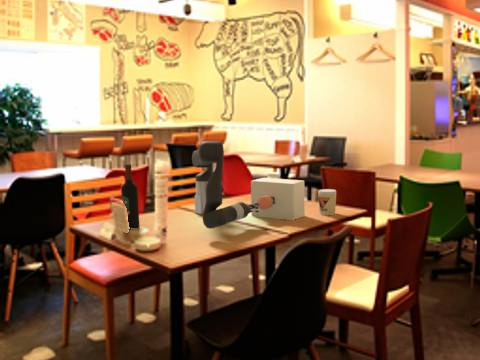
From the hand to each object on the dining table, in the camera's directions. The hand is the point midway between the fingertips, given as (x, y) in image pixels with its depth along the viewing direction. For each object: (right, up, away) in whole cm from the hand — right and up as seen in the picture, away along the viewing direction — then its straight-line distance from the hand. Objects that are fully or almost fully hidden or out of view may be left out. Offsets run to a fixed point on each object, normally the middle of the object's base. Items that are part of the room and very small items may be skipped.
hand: (256, 205), depth 264 cm
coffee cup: (+37, -6, +20) cm, 42 cm away
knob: (+6, -2, +9) cm, 11 cm away
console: (+11, -6, +18) cm, 22 cm away
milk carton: (+10, -4, +35) cm, 37 cm away
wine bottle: (-60, -11, -1) cm, 61 cm away
